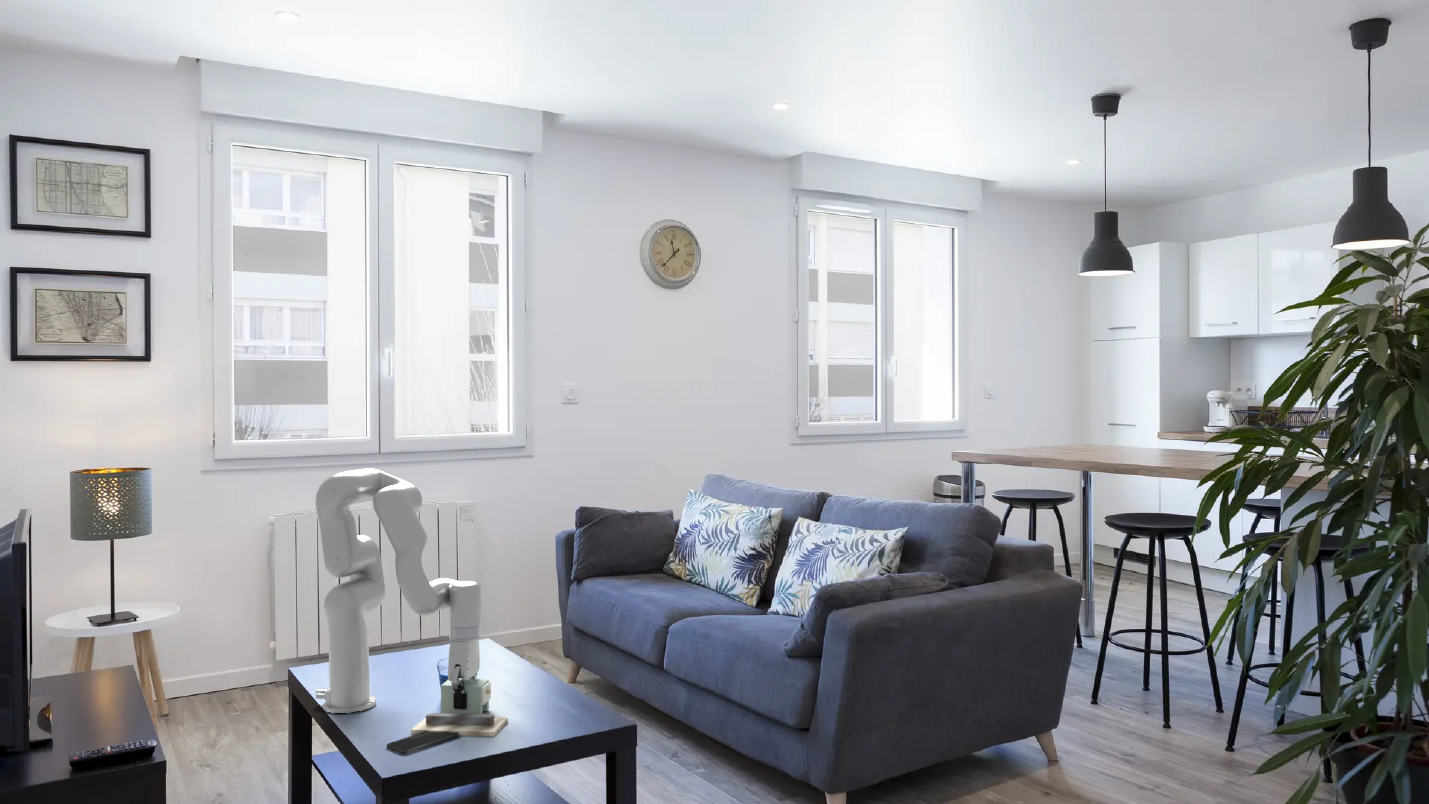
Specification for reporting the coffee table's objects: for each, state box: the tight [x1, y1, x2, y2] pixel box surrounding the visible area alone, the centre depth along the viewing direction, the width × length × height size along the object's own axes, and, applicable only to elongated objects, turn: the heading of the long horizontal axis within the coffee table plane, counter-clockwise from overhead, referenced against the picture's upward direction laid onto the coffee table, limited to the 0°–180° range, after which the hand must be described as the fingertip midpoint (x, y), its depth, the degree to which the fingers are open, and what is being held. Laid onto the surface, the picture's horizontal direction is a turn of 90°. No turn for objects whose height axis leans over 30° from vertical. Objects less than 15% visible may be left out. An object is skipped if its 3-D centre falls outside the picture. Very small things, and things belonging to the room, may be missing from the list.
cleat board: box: [410, 712, 509, 737], centre depth 237 cm, size 20×10×3 cm, turn 83°
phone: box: [386, 731, 460, 756], centre depth 227 cm, size 8×1×15 cm
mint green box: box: [440, 678, 492, 714], centre depth 247 cm, size 11×6×8 cm, turn 84°
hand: (465, 703), depth 247 cm, fingers closed on mint green box, 6 cm apart
